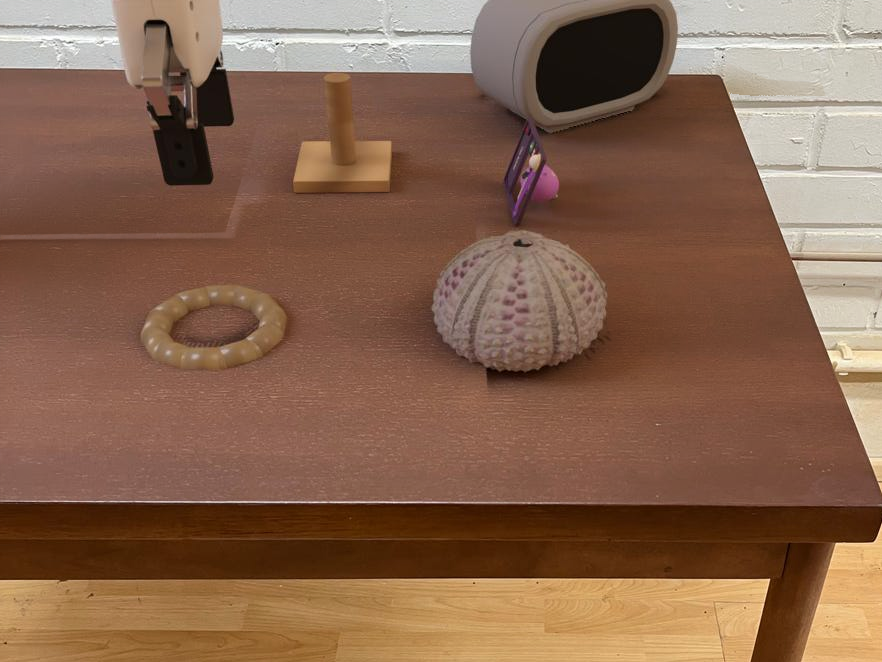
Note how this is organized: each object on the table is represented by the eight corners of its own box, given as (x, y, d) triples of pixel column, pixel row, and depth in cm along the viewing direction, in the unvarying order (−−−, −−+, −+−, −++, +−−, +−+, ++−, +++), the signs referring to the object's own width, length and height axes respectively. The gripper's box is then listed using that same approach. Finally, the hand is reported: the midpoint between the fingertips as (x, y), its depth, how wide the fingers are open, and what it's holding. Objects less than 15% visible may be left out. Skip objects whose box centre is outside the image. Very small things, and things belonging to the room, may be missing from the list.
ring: (131, 381, 73) (125, 358, 71) (160, 303, 81) (155, 281, 79) (279, 379, 73) (276, 356, 72) (293, 301, 81) (290, 279, 80)
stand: (294, 193, 95) (282, 96, 89) (303, 152, 102) (292, 59, 96) (389, 192, 96) (384, 95, 89) (392, 152, 102) (387, 59, 96)
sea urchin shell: (416, 378, 73) (412, 282, 68) (446, 283, 83) (445, 192, 78) (599, 395, 72) (609, 298, 67) (607, 296, 82) (617, 205, 77)
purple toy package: (520, 113, 93) (535, 155, 86) (572, 130, 94) (589, 172, 88) (495, 179, 97) (507, 223, 90) (544, 194, 99) (559, 238, 92)
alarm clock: (520, 146, 103) (525, 8, 95) (470, 115, 109) (470, -17, 100) (671, 105, 112) (689, -25, 103) (617, 78, 118) (629, -47, 109)
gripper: (117, -151, 66) (171, 106, 78) (42, -87, 53) (121, 210, 65) (231, -153, 66) (269, 104, 78) (184, -90, 54) (238, 208, 65)
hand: (202, 152), depth 71 cm, fingers open, 9 cm apart
